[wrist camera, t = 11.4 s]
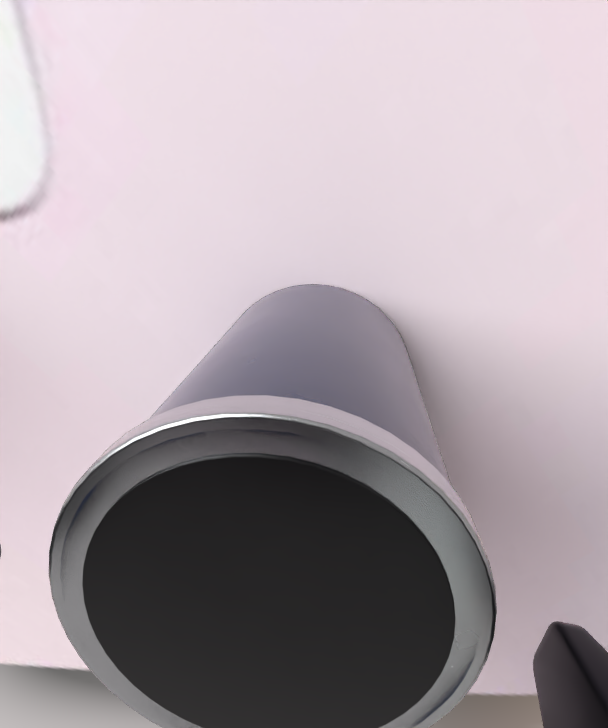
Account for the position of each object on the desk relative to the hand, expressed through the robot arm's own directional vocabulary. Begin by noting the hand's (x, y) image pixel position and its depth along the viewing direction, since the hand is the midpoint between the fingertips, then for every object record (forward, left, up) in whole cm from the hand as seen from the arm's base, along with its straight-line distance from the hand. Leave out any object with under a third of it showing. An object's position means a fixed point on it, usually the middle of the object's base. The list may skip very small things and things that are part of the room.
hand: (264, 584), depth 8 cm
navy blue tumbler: (0, 0, -8) cm, 8 cm away
